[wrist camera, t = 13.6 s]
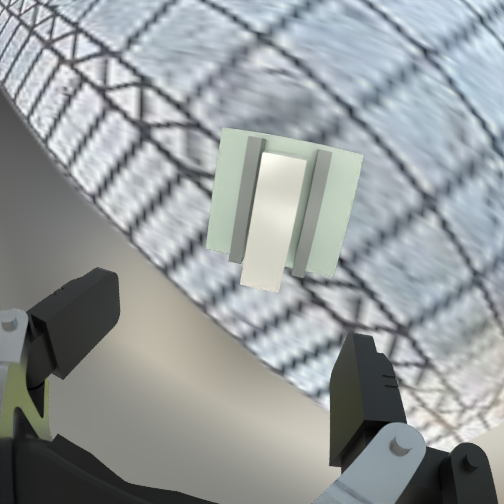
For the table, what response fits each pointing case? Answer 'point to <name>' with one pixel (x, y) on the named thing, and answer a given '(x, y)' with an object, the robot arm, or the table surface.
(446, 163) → the table surface
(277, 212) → the cream rectangular prism
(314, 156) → the dish rack
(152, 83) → the table surface
